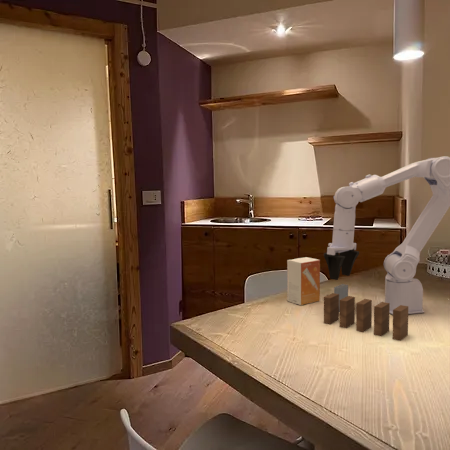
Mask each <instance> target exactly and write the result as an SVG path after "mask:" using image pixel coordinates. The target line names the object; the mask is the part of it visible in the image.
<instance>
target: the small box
mask: <svg viewBox="0 0 450 450" xmlns="http://www.w3.org/2000/svg"><path fill="white" fill-rule="evenodd" d="M286 264H287V265H286V266H287V267H286V269H287V272H286V273H287V274H286V275H287V285H286V286H287V291H286V292H287V296H286V297H287V302H290V303H293V304H295V305H299V306H303V305H307V304H311V303H317V302H320V300H321V291H320V290H321V289H320V288H321V282H320V281H321V259H317V258H312V257H307V256H305V257H298V258H294V259H287V260H286Z"/></svg>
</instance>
